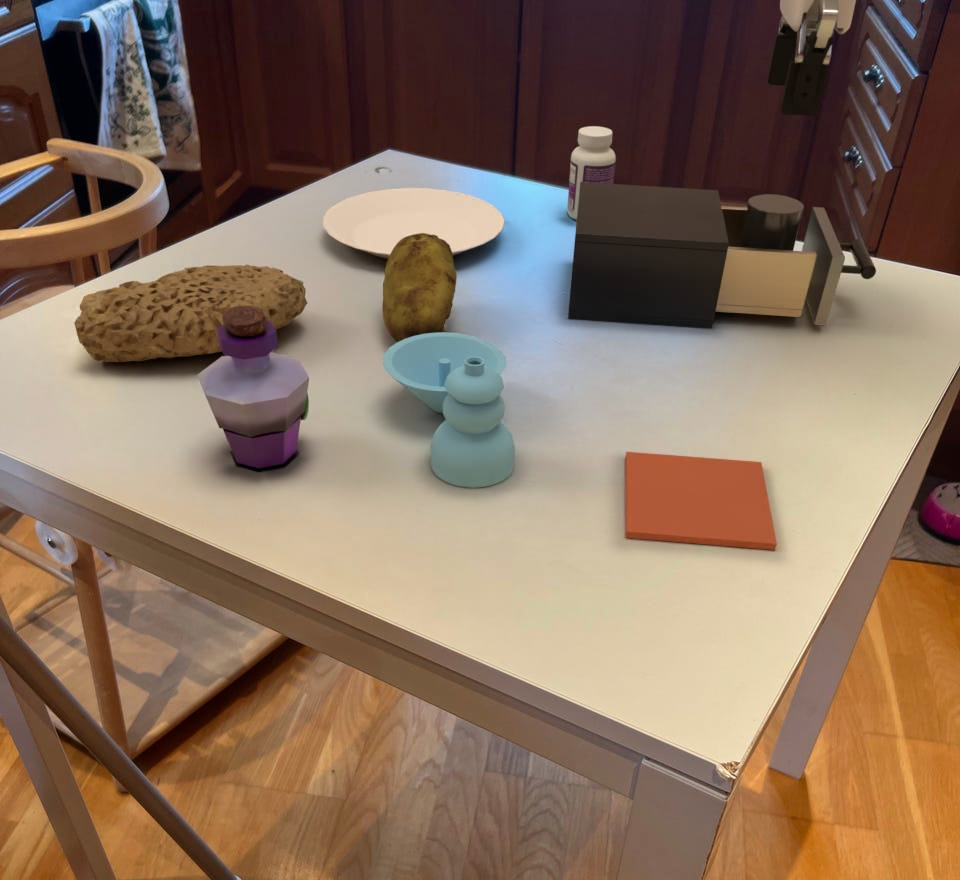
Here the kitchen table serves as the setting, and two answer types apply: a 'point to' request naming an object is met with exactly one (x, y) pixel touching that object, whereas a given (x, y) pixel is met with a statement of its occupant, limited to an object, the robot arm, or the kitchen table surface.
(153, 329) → the sponge
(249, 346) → the potion bottle
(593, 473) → the kitchen table surface
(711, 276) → the dark brown box
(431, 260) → the potato
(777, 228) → the dark glossy cylinder
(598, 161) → the pill bottle
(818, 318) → the drawer
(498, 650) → the kitchen table surface
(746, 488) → the mat
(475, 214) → the plate
